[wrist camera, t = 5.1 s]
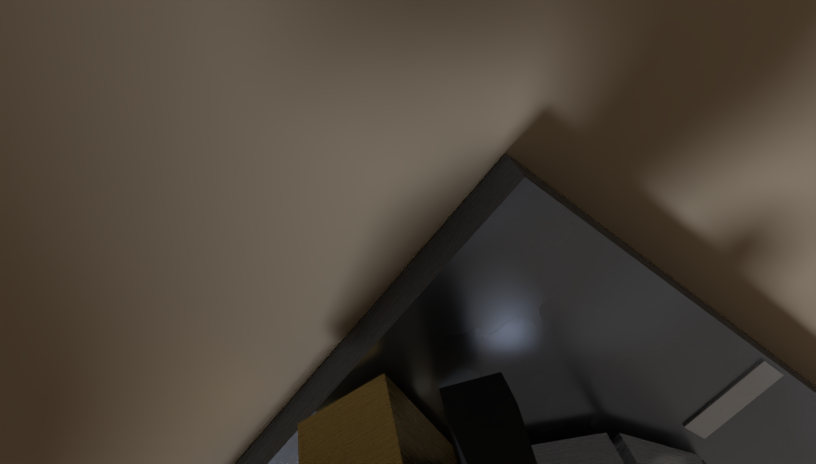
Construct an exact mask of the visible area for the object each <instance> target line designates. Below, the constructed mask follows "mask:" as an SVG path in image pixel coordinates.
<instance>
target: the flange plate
mask: <svg viewBox="0 0 816 464" xmlns="http://www.w3.org/2000/svg"><path fill="white" fill-rule="evenodd" d="M499 372H502V374H503V376H504V378H505V380H506V382H507V384H508V386H509V388H510V390H511V392H512V394H513V396H514V398H515V400H516V402H517V404H518V406H519V409H520V412H521V415H522V418H523V421H524V425H525V428H526V431H527V434H528V437H529V440H530V443H531V445H535V444H540V443H546V442H552V441H558V440H564V439H570V438H576V437H582V436H588V435H594V434H600V433H607V435H608V436H609V438H610V440H611V441H612V440H613V439H614V438H615V437H616V436H617V434H618V433H622V434H625V435H629V436H632V437H636V438H640V439H643V440H647V441H650V442H654V443H657V444H661V445H665V446H668V447H672V448H675V449H679V450H682V451H686V452H690V453H693V454H697V456H698V457H699V458H700V460H704V461H705V462H706V464H816V387H815V386H814V385H813V384H811V383H810V382H809V381H808V380H806V379H805V378H804V377H802V376H801V375H800V374H798V373H797V372H796V371H794V370H793V369H792V368H790V367H789V366H788V365H786V364H785V363H784V362H782V361H781V360H780V359H778V358H777V357H776V356H774V355H773V354H772V353H770V352H769V351H768V350H766V349H765V348H764V347H762V346H761V345H760V344H758V343H757V342H756V341H754V340H753V339H752V338H750V337H749V336H748V335H746V334H745V333H744V332H742V331H741V330H740V329H739V328H737V327H736V326H735V325H733V324H732V323H731V322H729V321H728V320H727V319H725V318H724V317H723V316H721V315H720V314H719V313H717V312H716V311H715V310H713V309H712V308H711V307H709V306H708V305H707V304H705V303H704V302H703V301H701V300H700V299H699V298H697V297H696V296H695V295H693V294H692V293H691V292H689V291H688V290H687V289H685V288H684V287H683V286H681V285H680V284H679V283H677V282H676V281H675V280H673V279H672V278H671V277H670V276H668V275H667V274H666V273H664V272H663V271H662V270H660V269H659V268H658V267H656V266H655V265H654V264H652V263H651V262H650V261H648V260H647V259H646V258H644V257H643V256H642V255H640V254H639V253H638V252H636V251H635V250H634V249H632V248H631V247H630V246H628V245H627V244H626V243H624V242H623V241H622V240H620V239H619V238H618V237H616V236H615V235H614V234H612V233H611V232H610V231H608V230H607V229H606V228H604V227H603V226H602V225H601V224H599V223H598V222H597V221H595V220H594V219H593V218H591V217H590V216H589V215H587V214H586V213H585V212H583V211H582V210H581V209H579V208H578V207H577V206H575V205H574V204H573V203H571V202H570V201H569V200H567V199H566V198H565V197H563V196H562V195H561V194H559V193H558V192H557V191H555V190H554V189H553V188H551V187H550V186H549V185H547V184H546V183H545V182H543V181H542V180H541V179H539V178H538V177H537V176H535V175H534V174H533V173H532V172H530V171H529V170H528V169H526V168H525V167H524V166H522V165H521V164H520V163H518V162H517V161H516V160H514V159H513V158H512V157H510V156H509V155H508V154H505V155H504V156H503V157H502V158H501V159H500V161H499V162H498V163H497V164H496V165H495V166H494V168H493V169H492V170H491V171H490V172H489V173H488V174H487V176H486V177H485V178H484V179H483V180H482V181H481V182H480V184H479V185H478V186H477V187H476V188H475V189H474V191H473V192H472V193H471V194H470V195H469V196H468V197H467V199H466V200H465V201H464V202H463V203H462V204H461V205H460V207H459V208H458V209H457V210H456V211H455V212H454V213H453V215H452V216H451V217H450V218H449V219H448V220H447V222H446V223H445V224H444V225H443V226H442V227H441V228H440V230H439V231H438V232H437V233H436V234H435V235H434V236H433V238H432V239H431V240H430V241H429V242H428V243H427V245H426V246H425V247H424V248H423V249H422V250H421V251H420V253H419V254H418V255H417V256H416V257H415V258H414V259H413V261H412V262H411V263H410V264H409V265H408V266H407V267H406V269H405V270H404V271H403V272H402V273H401V274H400V276H399V277H398V278H397V279H396V280H395V281H394V282H393V284H392V285H391V286H390V287H389V288H388V289H387V290H386V292H385V293H384V294H383V295H382V296H381V297H380V299H379V300H378V301H377V302H376V303H375V304H374V305H373V307H372V308H371V309H370V310H369V311H368V312H367V313H366V315H365V316H364V317H363V318H362V319H361V320H360V321H359V323H358V324H357V325H356V326H355V327H354V328H353V330H352V331H351V332H350V333H349V334H348V335H347V336H346V338H345V339H344V340H343V341H342V342H341V343H340V344H339V346H338V347H337V348H336V349H335V350H334V351H333V353H332V354H331V355H330V356H329V357H328V358H327V359H326V361H325V362H324V363H323V364H322V365H321V366H320V367H319V369H318V370H317V371H316V372H315V373H314V374H313V375H312V377H311V378H310V379H309V380H308V381H307V382H306V384H305V385H304V386H303V387H302V388H301V389H300V390H299V392H298V393H297V394H296V395H295V396H294V397H293V398H292V400H291V401H290V402H289V403H288V404H287V405H286V407H285V408H284V409H283V410H282V411H281V412H280V413H279V415H278V416H277V417H276V418H275V419H274V420H273V421H272V423H271V424H270V425H269V426H268V427H267V428H266V430H265V431H264V432H263V433H262V434H261V435H260V436H259V438H258V439H257V440H256V441H255V442H254V443H253V444H252V446H251V447H250V448H249V449H248V450H247V451H246V452H245V454H244V455H243V456H242V457H241V458H240V459H239V461H238V462H237V463H236V464H299V458H298V423H300V422H301V421H303V420H305V419H306V418H308V417H310V416H311V415H313V414H315V413H317V412H318V411H320V410H322V409H323V408H325V407H327V406H329V405H330V404H332V403H334V402H335V401H337V400H339V399H341V398H342V397H344V396H346V395H347V394H349V393H351V392H352V391H354V390H356V389H358V388H359V387H361V386H363V385H364V384H366V383H368V382H370V381H371V380H373V379H375V378H376V377H378V376H380V375H381V374H383V373H385V374H386V375H387V377H388V378H389V379H390V380H391V381H392V382H393V383H394V384H395V385H396V386H397V387H398V388H399V389H400V390H401V391H402V392H403V394H404V395H405V396H406V397H407V398H408V399H409V400H410V401H411V402H412V403H413V404H414V405H415V406H416V407H417V408H418V409H419V410H420V412H421V413H422V414H423V415H424V416H425V417H426V418H427V419H428V420H429V421H430V422H431V423H432V424H433V425H434V426H435V427H436V429H437V430H438V431H439V432H440V433H441V434H442V435H443V436H444V437H445V438H446V439H447V440H448V441H449V442H450V443H451V444H452V441H451V437H450V433H449V429H448V424H447V420H446V416H445V412H444V407H443V403H442V399H441V395H440V391H439V388H443V387H446V386H450V385H454V384H457V383H461V382H465V381H469V380H472V379H476V378H480V377H484V376H487V375H491V374H495V373H499ZM452 446H453V445H452Z"/></svg>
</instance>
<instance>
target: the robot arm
mask: <svg viewBox="0 0 816 464" xmlns="http://www.w3.org/2000/svg"><path fill="white" fill-rule="evenodd" d="M439 391H440V395H441V399H442V403H443V407H444V412H445V416H446V420H447V424H448V429H449V433H450V437H451V441H452V445H453V450H454V454H455V458H456V462H457V464H537V461H536V458H535V455H534V452H533V449H532V446H531V443H530V440H529V437H528V434H527V431H526V428H525V425H524V421H523V418H522V415H521V412H520V409H519V406H518V404H517V402H516V400H515V398H514V396H513V394H512V392H511V390H510V388H509V386H508V384H507V382H506V380H505V378H504V376H503V374H502V372H499V373H495V374H491V375H487V376H484V377H480V378H476V379H472V380H469V381H465V382H461V383H457V384H454V385H450V386H446V387H443V388H439Z"/></svg>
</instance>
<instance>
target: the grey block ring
mask: <svg viewBox="0 0 816 464" xmlns="http://www.w3.org/2000/svg"><path fill="white" fill-rule="evenodd" d="M531 446H532V449H533V452H534V455H535V458H536V461H537V464H706V462H705V461H704V460H700V458H699V457H698V456H697V454H693V453H690V452H686V451H682V450H679V449H675V448H672V447H668V446H665V445H661V444H657V443H654V442H650V441H647V440H643V439H640V438H636V437H632V436H629V435H625V434H622V433H618V434H617V436H616V437H615V438H614V439H613V440H612V441H611V440H610V438H609V436H608V435H607V433H600V434H594V435H588V436H582V437H576V438H570V439H564V440H558V441H552V442H546V443H540V444H535V445H531ZM298 458H299V464H457V462H456V458H455V454H454V450H453V446H452V444H451V443H450V442H449V441H448V440H447V439H446V438H445V437H444V436H443V435H442V434H441V433H440V432H439V431H438V430H437V429H436V427H435V426H434V425H433V424H432V423H431V422H430V421H429V420H428V419H427V418H426V417H425V416H424V415H423V414H422V413H421V412H420V410H419V409H418V408H417V407H416V406H415V405H414V404H413V403H412V402H411V401H410V400H409V399H408V398H407V397H406V396H405V395H404V394H403V392H402V391H401V390H400V389H399V388H398V387H397V386H396V385H395V384H394V383H393V382H392V381H391V380H390V379H389V378H388V377H387V375H386V374H385V373H383V374H381V375H380V376H378V377H376V378H375V379H373V380H371V381H370V382H368V383H366V384H364V385H363V386H361V387H359V388H358V389H356V390H354V391H352V392H351V393H349V394H347V395H346V396H344V397H342V398H341V399H339V400H337V401H335V402H334V403H332V404H330V405H329V406H327V407H325V408H323V409H322V410H320V411H318V412H317V413H315V414H313V415H311V416H310V417H308V418H306V419H305V420H303V421H301V422H300V423H298Z"/></svg>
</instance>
